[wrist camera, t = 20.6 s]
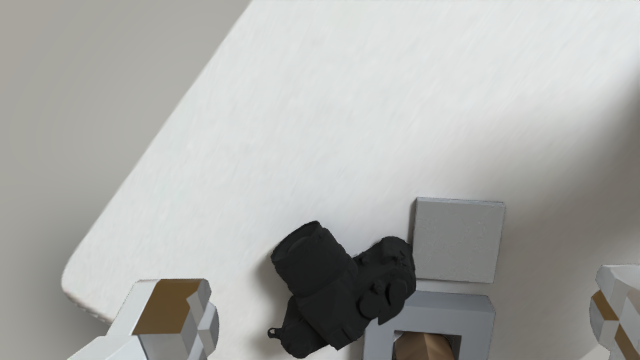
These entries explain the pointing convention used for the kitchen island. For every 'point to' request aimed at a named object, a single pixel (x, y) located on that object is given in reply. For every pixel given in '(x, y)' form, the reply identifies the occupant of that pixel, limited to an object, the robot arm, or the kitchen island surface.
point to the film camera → (338, 288)
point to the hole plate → (437, 324)
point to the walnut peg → (423, 346)
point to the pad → (457, 239)
